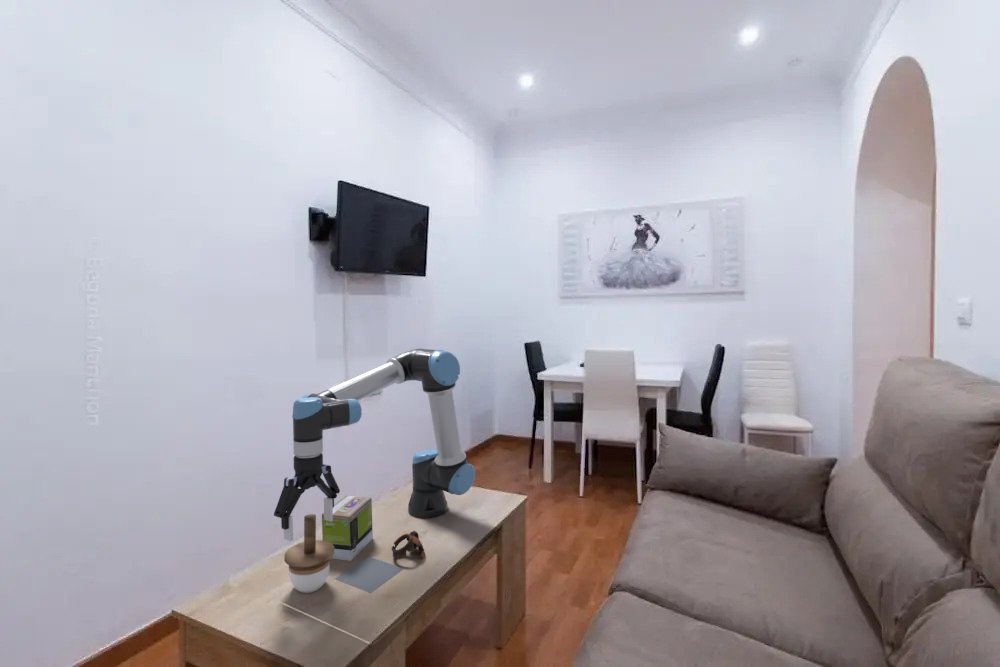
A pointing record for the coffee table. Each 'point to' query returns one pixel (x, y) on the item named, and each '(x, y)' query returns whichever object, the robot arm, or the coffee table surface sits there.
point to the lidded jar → (309, 577)
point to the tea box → (349, 526)
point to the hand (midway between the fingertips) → (309, 529)
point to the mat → (369, 574)
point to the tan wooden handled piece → (309, 547)
